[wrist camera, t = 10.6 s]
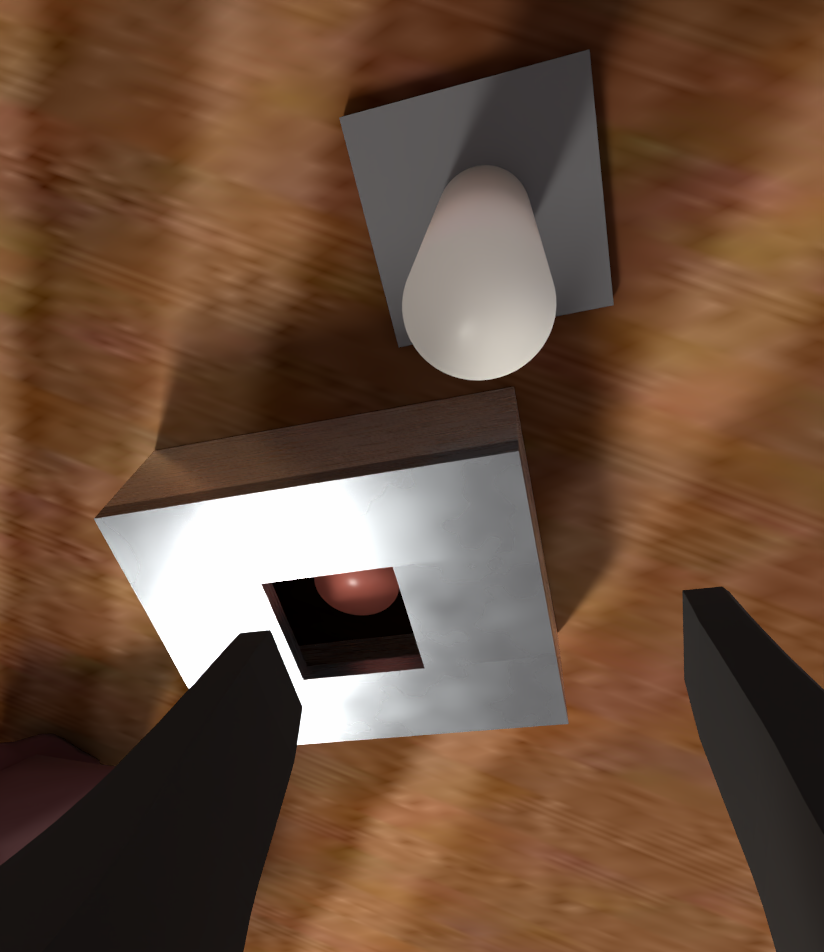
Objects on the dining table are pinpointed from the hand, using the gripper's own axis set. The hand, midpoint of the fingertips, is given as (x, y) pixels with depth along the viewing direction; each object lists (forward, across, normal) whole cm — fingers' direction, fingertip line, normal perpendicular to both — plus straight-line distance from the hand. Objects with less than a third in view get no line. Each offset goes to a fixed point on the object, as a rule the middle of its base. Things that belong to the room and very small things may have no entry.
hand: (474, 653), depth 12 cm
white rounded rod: (+10, -1, -6) cm, 11 cm away
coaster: (+10, -1, -6) cm, 12 cm away
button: (+10, +5, +5) cm, 12 cm away
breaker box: (+10, +5, +5) cm, 12 cm away
